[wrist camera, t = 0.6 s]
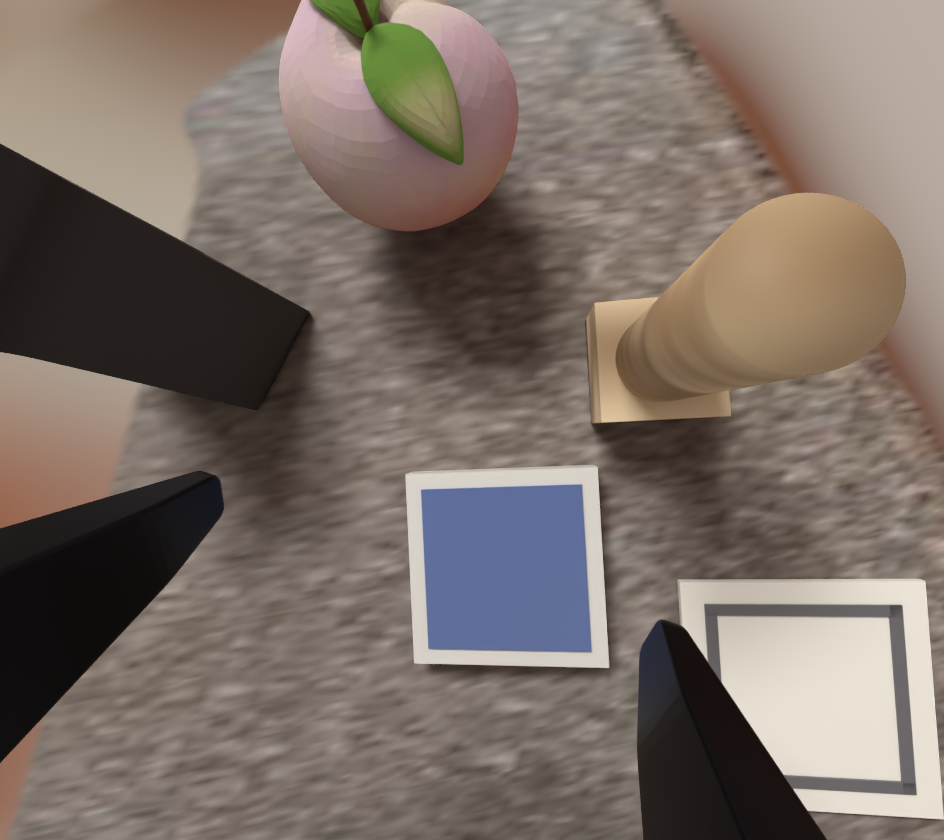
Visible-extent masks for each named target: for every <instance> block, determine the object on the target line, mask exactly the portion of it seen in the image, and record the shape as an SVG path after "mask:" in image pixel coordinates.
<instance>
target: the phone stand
mask: <svg viewBox="0 0 944 840" xmlns="http://www.w3.org/2000/svg"><path fill="white" fill-rule="evenodd" d="M308 312H309V311H307V310H306V309H304V308H302V307H300V306H298V305H297V304H295V303H293V302H291V301H289V300H288V299H286V298H284V297H282V296H280V295H279V294H277V293H275V292H273V291H271V290H269V289H268V288H266V287H264V286H262V285H260V284H259V283H257V282H255V281H253V280H251V279H250V278H248V277H246V276H244V275H242V274H241V273H239V272H237V271H235V270H233V269H231V268H230V267H228V266H226V265H224V264H222V263H221V262H219V261H217V260H215V259H213V258H212V257H210V256H208V255H206V254H204V253H202V252H201V251H199V250H197V249H195V248H193V247H192V246H190V245H188V244H186V243H184V242H183V241H181V240H179V239H177V238H175V237H173V236H172V235H170V234H167V233H166V232H164V231H162V230H160V229H158V228H156V227H155V226H153V225H151V224H149V223H147V222H145V221H143V220H141V219H140V218H138V217H136V216H134V215H132V214H130V213H128V212H127V211H124V210H123V209H121V208H119V207H117V206H115V205H114V204H111V203H109V202H108V201H106V200H104V199H102V198H101V197H99V196H97V195H95V194H93V193H91V192H89V191H87V190H86V189H84V188H82V187H80V186H78V185H76V184H74V183H72V182H70V181H69V180H67V179H65V178H63V177H61V176H59V175H58V174H56V173H54V172H52V171H50V170H48V169H46V168H45V167H43V166H41V165H39V164H37V163H35V162H33V161H31V160H29V159H28V158H26V157H24V156H22V155H20V154H19V153H17V152H15V151H13V150H11V149H9V148H7V147H5V146H4V145H2V144H0V352H4V353H10V354H15V355H21V356H26V357H30V358H35V359H39V360H44V361H48V362H52V363H56V364H61V365H65V366H69V367H74V368H78V369H82V370H87V371H91V372H95V373H99V374H104V375H108V376H112V377H116V378H121V379H125V380H129V381H133V382H138V383H142V384H146V385H150V386H155V387H159V388H163V389H168V390H172V391H176V392H180V393H185V394H189V395H193V396H197V397H202V398H206V399H210V400H215V401H219V402H223V403H227V404H232V405H236V406H240V407H245V408H249V409H253V410H258V408H259V406H260V404H261V402H262V400H263V398H264V396H265V394H266V393H267V391H268V389H269V387H270V385H271V383H272V381H273V379H274V377H275V375H276V373H277V372H278V370H279V368H280V366H281V364H282V362H283V360H284V358H285V356H286V354H287V352H288V351H289V349H290V347H291V345H292V343H293V341H294V339H295V337H296V335H297V333H298V331H299V330H300V328H301V326H302V324H303V322H304V320H305V318H306V316H307V314H308Z"/></svg>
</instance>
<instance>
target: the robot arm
mask: <svg viewBox="0 0 944 840" xmlns="http://www.w3.org/2000/svg"><path fill="white" fill-rule="evenodd" d="M223 510H224V501H223V494H222V488H221V482H220V479H219V478H218V477H217V476H215V475H212V474H209V473H206V472H203V471H196V472H192V473H189V474H185V475H182V476H178V477H175V478H171V479H168V480H165V481H161V482H158V483H154V484H151V485H148V486H144V487H141V488H137V489H134V490H130V491H127V492H124V493H120V494H117V495H113V496H110V497H106V498H103V499H100V500H96V501H93V502H89V503H86V504H83V505H79V506H76V507H72V508H69V509H65V510H62V511H59V512H55V513H52V514H49V515H45V516H42V517H39V518H35V519H31V520H28V521H24V522H21V523H17V524H14V525H11V526H7V527H4V528H0V763H1V762H2V761H3V759H4V758H5V757H6V756H7V755H8V754H9V753H10V752H11V751H12V750H13V749H14V748H15V747H16V746H17V744H18V743H19V742H20V741H21V740H22V739H23V738H24V737H25V736H26V735H27V734H28V733H29V732H30V731H31V730H32V728H33V727H34V726H35V725H36V724H37V723H38V722H39V721H40V720H41V719H42V718H43V717H44V716H45V715H46V714H47V712H48V711H49V710H50V709H51V708H52V707H53V706H54V705H55V704H56V703H57V702H58V701H59V700H60V699H61V697H62V696H63V695H64V694H65V693H66V692H67V691H68V690H69V689H70V688H71V687H72V686H73V685H74V684H75V682H76V681H77V680H78V679H79V678H80V677H81V676H82V675H83V674H84V673H85V672H86V671H87V670H88V669H89V668H90V666H91V665H92V664H93V663H94V662H95V661H96V660H97V659H98V658H99V657H100V656H101V655H102V654H103V653H104V651H105V650H106V649H107V648H108V647H109V646H110V645H111V644H112V643H113V642H114V641H115V640H116V639H117V638H118V636H119V635H120V634H121V633H122V632H123V631H124V630H125V629H126V628H127V627H128V626H129V625H130V624H131V623H132V622H133V620H134V619H135V618H136V617H137V616H138V615H139V614H140V613H141V612H142V611H143V610H144V609H145V608H146V607H147V605H148V604H149V603H150V602H151V601H152V600H153V599H154V598H155V597H156V596H157V595H158V594H159V593H160V592H161V590H162V589H163V588H164V587H165V586H166V585H167V584H168V583H169V582H170V580H171V579H172V578H173V577H174V576H175V574H176V573H177V572H178V571H179V570H180V568H181V567H182V566H183V565H184V563H185V562H186V561H187V559H188V558H189V557H190V556H191V554H192V553H193V552H194V550H195V549H196V548H197V547H198V545H199V544H200V543H201V541H202V540H203V539H204V538H205V536H206V535H207V534H208V532H209V531H210V530H211V529H212V527H213V526H214V525H215V523H216V522H217V521H218V520H219V518H220V517H221V515H222V513H223ZM637 756H638V773H639V786H640V799H641V813H642V826H643V840H827V839H826V837H825V836H824V834H823V833H822V831H821V830H820V828H819V827H818V825H817V824H816V822H815V821H814V819H813V818H812V816H811V815H810V813H809V812H808V810H807V809H806V807H805V806H804V804H803V803H802V802H801V800H800V799H799V797H798V796H797V794H796V793H795V791H794V790H793V788H792V787H791V785H790V784H789V782H788V781H787V779H786V778H785V776H784V775H783V773H782V772H781V770H780V769H779V767H778V766H777V764H776V763H775V761H774V760H773V758H772V757H771V755H770V754H769V752H768V751H767V749H766V748H765V746H764V745H763V743H762V742H761V740H760V739H759V737H758V736H757V734H756V733H755V731H754V730H753V728H752V727H751V725H750V724H749V722H748V721H747V719H746V718H745V716H744V715H743V713H742V712H741V710H740V709H739V707H738V706H737V704H736V703H735V701H734V700H733V698H732V697H731V695H730V694H729V692H728V691H727V690H726V688H725V687H724V685H723V684H722V682H721V681H720V679H719V678H718V676H717V675H716V673H715V672H714V670H713V669H712V667H711V666H710V664H709V663H708V661H707V660H706V658H705V657H704V655H703V654H702V652H701V651H700V649H699V648H698V646H697V645H696V643H695V642H694V640H693V639H692V637H691V636H690V634H689V633H688V631H687V630H686V629H685V628H684V627H683V626H681V625H679V624H676V623H672V622H669V621H666V620H659V621H657V622H656V624H655V625H654V627H653V629H652V630H651V632H650V633H649V635H648V637H647V638H646V640H645V642H644V643H643V645H642V648H641V651H640V657H639V690H638V725H637Z"/></svg>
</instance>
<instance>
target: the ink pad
mask: <svg viewBox="0 0 944 840" xmlns="http://www.w3.org/2000/svg"><path fill="white" fill-rule="evenodd" d="M406 495H407V517H408V538H409V560H410V582H411V603H412V625H413V646H414V663H420V664H462V665H505V666H547V667H590V668H609V655H608V637H607V620H606V603H605V586H604V569H603V551H602V534H601V517H600V500H599V482H598V467H597V466H595V465H574V466H548V467H522V468H496V469H470V470H444V471H418V472H410V473H408V474H406Z"/></svg>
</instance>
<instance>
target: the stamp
mask: <svg viewBox="0 0 944 840" xmlns="http://www.w3.org/2000/svg"><path fill="white" fill-rule="evenodd" d="M905 288H906V274H905V267H904V261H903V258H902V255H901V252H900V249H899V247H898V245H897V243H896V241H895V239H894V238H893V236H892V235H891V233H890V232H889V230H888V229H887V228H886V227H885V226H884V225H883V223H882V222H881V221H880V220H879V219H878V218H876V217H875V216H874V215H873V214H872V213H870V212H869V211H867V210H866V209H864V208H863V207H861V206H860V205H857V204H855V203H853V202H851V201H849V200H846V199H843V198H840V197H837V196H832V195H827V194H819V193H796V194H791V195H785V196H781V197H778V198H774V199H771V200H769V201H766V202H764V203H762V204H759V205H758V206H756V207H754V208H752V209H751V210H749V211H747V212H746V213H745V214H743V215H742V216H741V217H739V218H738V219H737V220H736V221H735V222H734V223H733V224H732V225H731V226H730V227H729V228H728V229H727V230H726V231H725V232H724V233H723V234H722V235H721V236H720V237H719V238H718V239H717V240H716V241H715V242H714V243H713V244H712V245H711V246H710V247H709V248H708V249H707V250H706V251H705V252H704V253H703V254H702V255H701V256H700V257H699V258H698V259H697V260H696V261H695V262H694V263H693V264H692V265H691V266H690V267H689V268H688V269H687V270H686V271H685V272H684V273H683V274H682V275H681V276H680V277H679V278H678V279H677V280H676V281H675V282H674V283H673V284H672V285H671V286H670V287H669V288H668V289H667V290H666V291H665V292H664V293H663V294H662V295H661V296H660V297H656V298H644V299H633V300H622V301H610V302H599V303H594V305H593V307H592V309H591V311H590V313H589V315H588V316H587V318H586V320H585V327H586V344H587V361H588V379H589V396H590V413H591V423H607V422H627V421H647V420H666V419H686V418H705V417H722V416H731V410H730V394H729V390H734V389H739V388H745V387H750V386H755V385H761V384H766V383H771V382H777V381H782V380H788V379H793V378H798V377H804V376H809V375H814V374H820V373H824V372H828V371H833V370H836V369H839V368H841V367H844V366H847V365H849V364H851V363H853V362H855V361H857V360H858V359H860V358H862V357H863V356H864V355H866V354H867V353H869V352H870V351H871V350H872V349H874V348H875V347H876V346H877V345H878V344H879V343H880V342H881V341H882V340H883V338H884V337H885V336H886V335H887V334H888V333H889V331H890V329H891V328H892V326H893V325H894V323H895V321H896V319H897V317H898V315H899V313H900V310H901V307H902V304H903V300H904V295H905Z"/></svg>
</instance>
